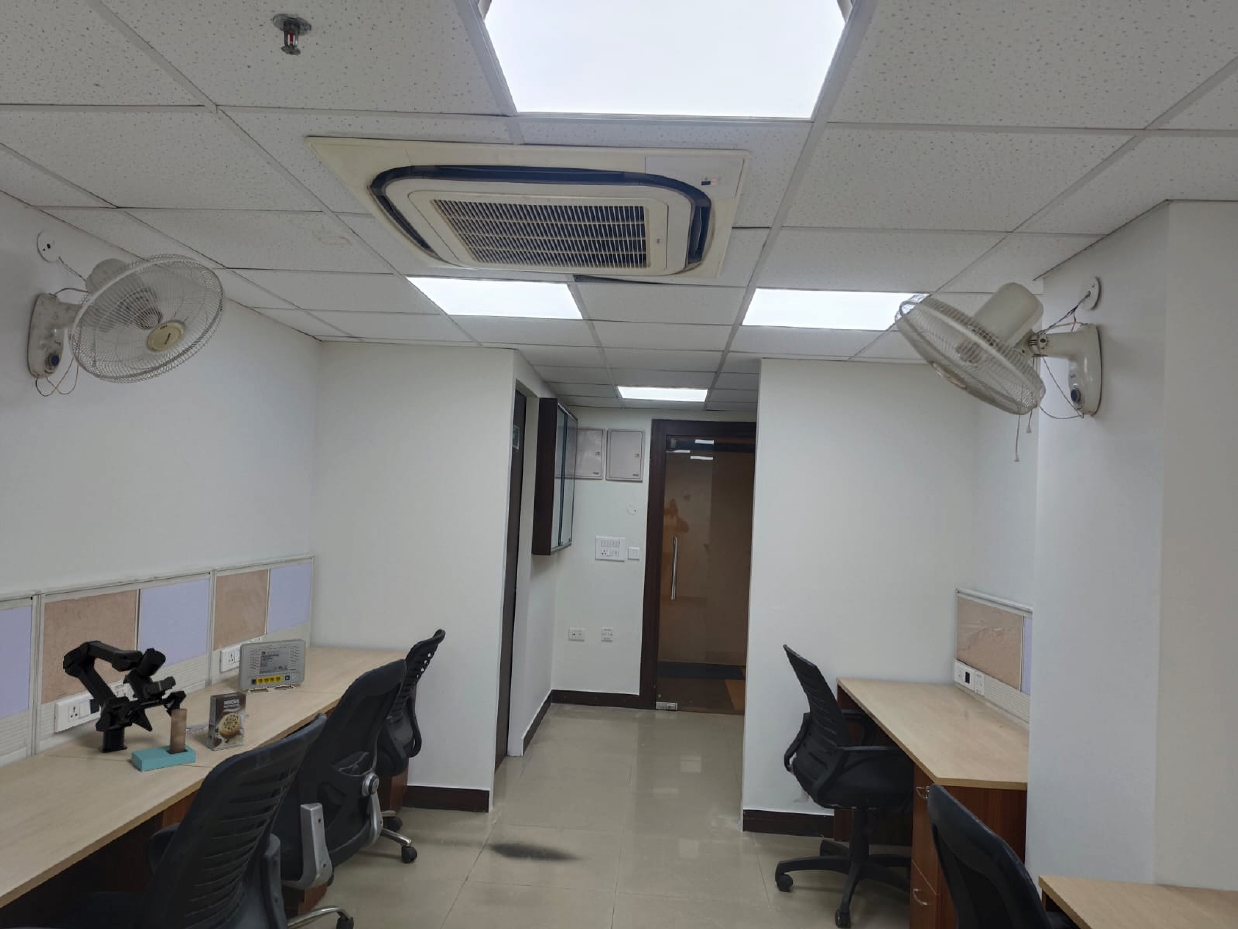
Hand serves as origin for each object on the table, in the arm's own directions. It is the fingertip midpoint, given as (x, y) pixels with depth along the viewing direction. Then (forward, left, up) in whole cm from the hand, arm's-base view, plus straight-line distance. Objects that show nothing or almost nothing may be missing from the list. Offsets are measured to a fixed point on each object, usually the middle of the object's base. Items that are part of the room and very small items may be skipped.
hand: (165, 727), depth 238 cm
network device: (-74, +59, -10) cm, 95 cm away
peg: (+5, +2, -9) cm, 11 cm away
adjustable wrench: (-30, +24, -10) cm, 40 cm away
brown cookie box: (-2, +18, -10) cm, 21 cm away
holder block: (+3, -1, -9) cm, 10 cm away
